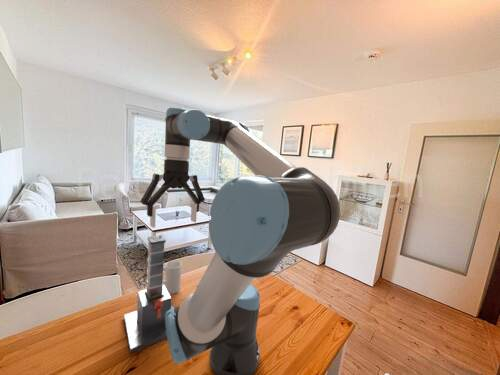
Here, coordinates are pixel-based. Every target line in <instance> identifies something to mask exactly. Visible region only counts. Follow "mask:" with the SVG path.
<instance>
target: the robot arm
mask: <svg viewBox="0 0 500 375" xmlns="http://www.w3.org/2000/svg"><path fill="white" fill-rule="evenodd" d="M164 121H165V130H164V132H165V138H164V139H165V140H164V157H165V159H164V162H163V163H164V164H163V174H158V173H155V172H154V173H153V174H152V180H151V182H149V183H150V184H149V185H148V187H147V188H146V190H145V193H144V194H143V196H142V197H141V200H140V203H141V204H142V205H144V206H146V215H147V217H149V219H150V220H149V222H150V223H149V225H150V227H151V228H156V216H157V212H156V210H157V207H156V206H155V205H156V203H157V202H158V201H159V199H161V197H162V196H163V195H164V194H165V193H166V192H167V191H168V190H169V189H170V188H171V189H184V191H185V192H186V193H187V195H188V196H189V198H191V199H192V201H193V202H191V208H190V221H191V222H193V223H196V222H197V216H198V215H197V214H198V212H199V211H200V204H201V203H202V202H204V201H205V197H204V194H203V191H202V189H201V187H200V184H199V182H198V181H199V180H198V175H197V174H189V171H190V169H189V168H190V162H189V159H190V149H191V141H200V142H207V143H213V144H218V145H219V144H220V145H223V146H225V148H227V149H228V150H229V151H230V152H231V153H232V154H233V155H234V156H236V158H237V159H238V160H239V161H240V162H242V164H244V166H245V167H247V169H249V170H250V172H251V173H253V175H250V176H239V177H235V178H232V179H230V180H228V181H227V182H225V183H224V184H223V185H222V186H221V187H220V189H218V191H217V192H216V194H215V195H214V198H213V200H212V202H211V205H210V210H209V215H210V219H209V221H208V231H209V232H208V233H209V238H210V242H211V244H212V247H213V249H214V254H213V256H212V258H211V260H210V261H209V264H207V267H206V269H205V271H204V274H203V275H202V277H201V279H200V281H199V283H198V285H197V286H196V289H195V291H192V292H191V293H189V294H188V295H187V296H186V297H185V298H184V299H183V300H182V302H181V303H180V306H176V307H175V306H173V307H174V308H172V309H170V310H168V311H167V312H166V314H165V325H166V333H167V338H166V339H167V344H168V348H169V353H170V357H171V360H172V361H173V363H175V364H177V365H178V364H181V363H184V362H189V360H190V359H192V358H194V357H197V356H198V355H200V354H203V353H205V352H206V351H208V350H210V351H209V364H210V366H211V369H212V371H213V372H214V374H215V375H254V374H255V372H257V371H256V370H257V368H258V366H259V363H260V347H259V343H258V338H257V328H258V320H259V311H260V307H261V304H260V301H261V300H260V299H261V297H260V292H259V290H258V289H257V287H256V286H254V284H252V282H253V281H254V280H255V279H261V278H264V277H267V276H269V275H270V274H271V273H273V271H274V270H276V268H277V267H279V266H278V265H279V264H280V263H281V262H282V261H283V260H284V258H285V257H286V256H287V255H288V254H290V253H291V252H293V251H295V250H299V249H303V248H307V247H311V246H315V245H318V244H320V243H322V242H324V241H326V240H327V239H329V238H330V237H331V236H332V235H333V233H334V232H335V230H336V229H337V227H338V224H339V222H340V219H341V218H340V217H341V205H340V200H339V198H338V196H337V195H336V192H335V191H334V190H333V188H332V187H331V186H330V185H329V183H327V182H326V181H325V180H323V179H322V178H321V177H319V176H318V175H316V174H315V173H313V172H312V171H310V170H309V168H307V167H304V166H299V167H296V165H294V164H292V163H291V162H290V161H289V160H287V159H286V158H284V157H283V156H282V155H280V154H279V153H278V152H276V151H275V150H273V148H271V147H270V146H267V144H265V143H264V142H263V141H262V140H260V139H258V138H257V137H256V136H254V135H253V134H251V133H250V130H249V128H248V126H247V124H246V123H242V122H240V121H239V120H238V121H237V120H231V119H226V118H223V117H222V118H221V117H218V116H212V115H207V114H206V113H205V112H203V111H202V110H200V109H197V108H196V109H195V108H192V109H191V108H190V109H185V108H182V107H181V108H180V107H169V108H167V109H166V114H165V119H164ZM162 180H163V182H164V183H162V185H161V186H160V187H159V189H158V190H155V189H156V188H157V186H158V184H159V183H160V181H162ZM189 180H190V182H191V185H192V187H193V189H194V191H195V193H194V191H193V190H192V188H191V186H190V185H189V184H188V182H189ZM155 191H156V192H155ZM154 192H155V193H154ZM153 193H154V194H153Z"/></svg>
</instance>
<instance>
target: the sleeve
mask: <svg viewBox="0 0 500 375" xmlns="http://www.w3.org/2000/svg"><path fill="white" fill-rule="evenodd" d="M146 291H147V288H145V289H142V290H139V291H137V309H136V310H134V311H131V312H128V313H125V314H123V321H124V326H125V331H126V337H127V342H128V347H129V354H133V353H135V352H138V351H140V350H143V349H145V348H147V347H150V346H152V345H155V344H157V343H159V342H162V341H164V340H166V339H167V333H166V325H165V314H166V312H167V311H168V310H170V309H172V308H174V307H175V306H174V304H173V302H172V296H171V294H169V292H168V291H167V289H166V287H165V285H164V284H163V286H162V293H163V297H161V298H158V299H155V300H151V301H148V300H147V295H146Z"/></svg>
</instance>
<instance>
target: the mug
mask: <svg viewBox="0 0 500 375" xmlns="http://www.w3.org/2000/svg"><path fill="white" fill-rule="evenodd" d="M164 265H165V266H163V272H165V273H164V274H165V277H164V279H163V284H164V285H165V287H166V289H167V291H168V292H169V294H170V295H172V294H173V295H174V294H177V293H178V292H180V290H181V283H182V282H181V278H182V268H183V267H182V265H183V263H182V261H180V260H171V261H168V262H166V263H165V264H164Z"/></svg>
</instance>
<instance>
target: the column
mask: <svg viewBox="0 0 500 375" xmlns="http://www.w3.org/2000/svg"><path fill="white" fill-rule="evenodd" d="M147 241H148V247H147V270H146V273H147V276H146V289H147V291H146V295H147V300H148V301H151V300H155V299H158V298H161V297H163V293H162V286H163V280H164V274H165V273H164V270H163V267H164V265H165V243H166V241H167V240H166V238H165V237H164V236H163V235H162V234H161V235H155V236H147Z"/></svg>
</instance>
